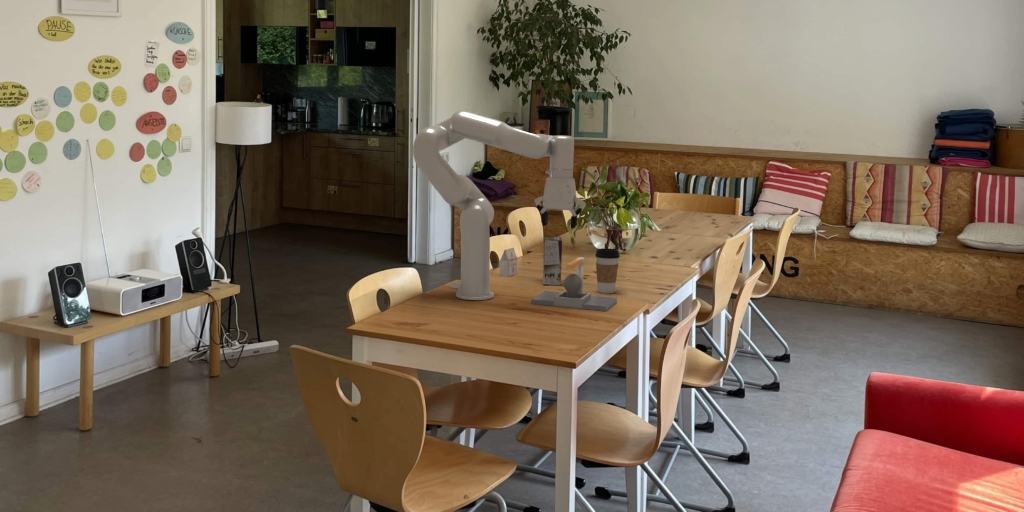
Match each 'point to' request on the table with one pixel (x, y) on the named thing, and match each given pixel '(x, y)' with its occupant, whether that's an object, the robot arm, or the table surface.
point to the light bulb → (572, 285)
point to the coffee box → (552, 260)
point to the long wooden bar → (575, 263)
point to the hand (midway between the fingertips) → (558, 226)
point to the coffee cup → (606, 269)
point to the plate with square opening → (580, 302)
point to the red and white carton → (508, 263)
